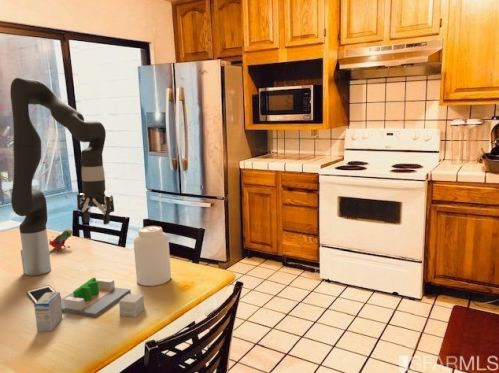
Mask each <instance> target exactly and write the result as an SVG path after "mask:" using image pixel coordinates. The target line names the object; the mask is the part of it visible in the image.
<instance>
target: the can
mask: <svg viewBox="0 0 499 373" xmlns="http://www.w3.org/2000/svg"><path fill="white" fill-rule="evenodd" d="M137 232H138V234H137V235H136V236H135V237H134V239H133V251H134V264H135V275H136V282H137V283H138V284H139V285H141V286H143V287H144V286H145V287H146V286H147V287H154V286H159V285H163V284H165V283H167V282H169V280H170V279H171V276H172V273H171V257H170V244H169V243H170V241H169V237H168V234H166V233H165V232H164V231H163V228H162V227H161V226H157V225H149V226H144V227H141V228H139V230H138V231H137Z"/></svg>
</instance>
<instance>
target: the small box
mask: <svg viewBox="0 0 499 373" xmlns="http://www.w3.org/2000/svg"><path fill="white" fill-rule="evenodd" d="M118 306H119V316H121V317H123V316H124V317H134V318H137V317H139V315H140V314H141V313H143V311H144V310H145V309H146V308H145V296H144V294H136V293H135V294H133V293H129V294H127V295H126V296H125V297H124V298H122V299H121V300H120V301H118Z"/></svg>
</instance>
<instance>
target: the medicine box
mask: <svg viewBox="0 0 499 373" xmlns="http://www.w3.org/2000/svg"><path fill="white" fill-rule="evenodd" d="M60 297H61V292H59V291H56V292H48V293H45V294H44V295H43V296H42V297H41V298H40V299H39V300H38V301H37V302H36V303H33V304H34V314H35V322H36V331H37V332H38V333H39V332H40V333H41V332H52V331H54V329H55V328H56V326H57V325H58V324H59V323H60V321H61V320H62V319H63V312H62V308H61V299H62V297H61V298H60Z"/></svg>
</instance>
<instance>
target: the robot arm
mask: <svg viewBox="0 0 499 373" xmlns="http://www.w3.org/2000/svg"><path fill="white" fill-rule="evenodd" d="M9 92H10V102H11V104H10V105H11V110H12V122H13V145H12V146H13V147H12V148H13V181H12V190H11V200H10V202H11V204H10V205H11V207H12V210H13V212H14V213H15V215H17V216H20V217H25V218H24V219H23V221H22V222H21V223H20V224H19V234H20V241H21V242H20V243H21V250H20V256H21V264H22V272H23V274H25V275H26V276H28V277H29V276H30V277H34V276H40V275H43V274H44V275H45V274H47V273H49V272H50V271H52V264H51V257H50V247H49V240H48V232H47V223H48V206H47V200H46V196H45V194H44V193H43V192H42V191H41V190H40V189H36V188H33V179H34V177H35V173H36V171H37V169H38V167H39V165H40V162H41V159H42V138H41V136H40V134H39V132H38V131H37V129H36V128H35V126H34V125H33V123H32V121H31V120H32V119H31V117H30V108H29V105H34V106H35V105H40V106H43V107H44V108H46V109H48V110H49V112H50V114H51V116H52V118H53V119H54V120H55V121H56V122H57V123H59V125H61V126H63V127H64V128H65V129H67V130H68V132H69V133H70V134H71V136H72V137H74V139H76V141H79V142H80V143H81V142H82V143H88V146H87V147H86V148H84V149H83V150H81V152H80V161H81V184H82V193H78V194H76V200H77V201H76V202H77V203H76V204H77V208H76V209H77V210H78V211H81V213H82V220H83V221H84V223H89V222H90V221H91V217H90V216H91V215H90V209H91V208H93V207H94V208H98V210H99V211H101V212H102V222H103V225H104V226H106V225H108V224H110V222H111V219H110V214H112V213H114V212H115V204H114V197H113V195H112V194H110V195H106V194H105V191H106V179H105V177H106V176H105V175H106V174H105V168H104V161H103V160H104V159H103V152H104V147H105V141H106V134H107V133H106V132H107V131H106V129H105V126H104V124H102V122H100V121H98V120H93V121H90V120H89V121H87V120H86V121H85V117H84V115H83V114H82V113H80V111H78V110H77V109H75V108H73V107H71V106H70V105H69V104H67V103H66V102H65V101H63V100H62V99H61V98H60V97H58V95H57V94H55V93H54V92H53V91H52V90H51V89H50V87H48V85H46V83H44V82H43V81H41V80H39V79H33V78H26V77H15V78H14V79H13V80H12V82H11V84H10V91H9Z"/></svg>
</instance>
